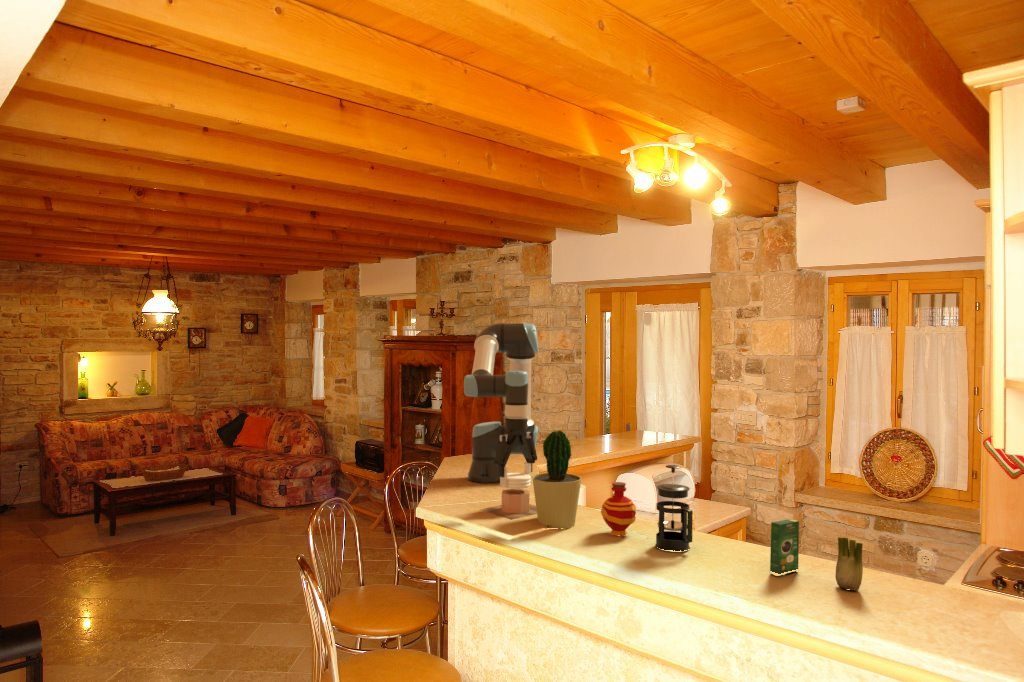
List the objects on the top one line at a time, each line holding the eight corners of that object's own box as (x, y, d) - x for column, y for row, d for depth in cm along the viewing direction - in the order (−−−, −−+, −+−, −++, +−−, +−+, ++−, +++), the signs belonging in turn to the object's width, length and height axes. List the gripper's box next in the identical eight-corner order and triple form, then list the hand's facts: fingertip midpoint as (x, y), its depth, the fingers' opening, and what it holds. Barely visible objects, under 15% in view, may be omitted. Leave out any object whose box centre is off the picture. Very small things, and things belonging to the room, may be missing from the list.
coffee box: (789, 568, 173) (790, 517, 173) (799, 572, 171) (800, 520, 171) (769, 574, 169) (769, 521, 169) (779, 577, 167) (779, 524, 166)
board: (519, 504, 237) (519, 501, 237) (551, 513, 225) (551, 510, 225) (479, 513, 225) (479, 509, 225) (511, 523, 213) (511, 519, 213)
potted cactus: (565, 515, 223) (566, 424, 223) (590, 527, 209) (591, 430, 209) (523, 521, 216) (524, 426, 216) (546, 533, 202) (547, 433, 202)
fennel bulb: (865, 593, 157) (866, 541, 157) (845, 594, 156) (845, 542, 156) (850, 584, 162) (851, 534, 162) (831, 585, 162) (831, 534, 162)
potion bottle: (614, 526, 210) (615, 478, 210) (642, 533, 203) (643, 483, 203) (593, 533, 203) (594, 483, 203) (621, 541, 196) (622, 489, 196)
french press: (646, 545, 192) (647, 464, 192) (669, 540, 197) (670, 460, 197) (678, 556, 182) (679, 470, 182) (701, 550, 187) (702, 467, 187)
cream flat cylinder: (527, 482, 231) (527, 471, 231) (533, 488, 221) (533, 477, 221) (498, 483, 229) (498, 472, 229) (503, 489, 220) (503, 478, 220)
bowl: (516, 505, 232) (516, 487, 232) (534, 510, 225) (535, 492, 225) (496, 509, 226) (496, 491, 226) (514, 514, 219) (514, 496, 219)
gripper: (533, 414, 236) (532, 478, 236) (482, 418, 221) (482, 487, 221) (548, 416, 230) (548, 481, 230) (497, 420, 215) (497, 491, 215)
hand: (515, 484), depth 225 cm, fingers closed on cream flat cylinder, 10 cm apart
